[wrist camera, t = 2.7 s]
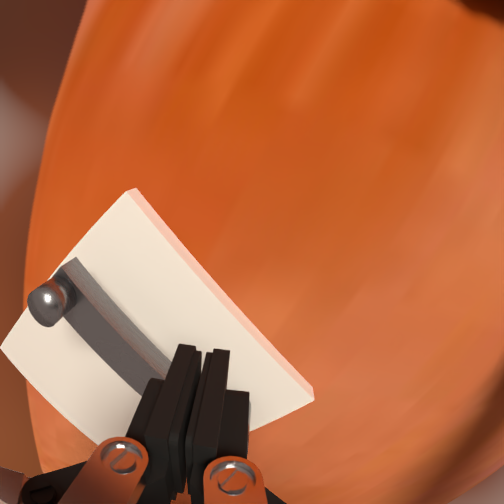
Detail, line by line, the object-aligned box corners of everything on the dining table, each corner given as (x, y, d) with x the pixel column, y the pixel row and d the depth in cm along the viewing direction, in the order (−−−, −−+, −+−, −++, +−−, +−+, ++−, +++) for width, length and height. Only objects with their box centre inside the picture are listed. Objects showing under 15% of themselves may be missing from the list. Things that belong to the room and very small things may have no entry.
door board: (312, 387, 23) (321, 446, 17) (138, 462, 28) (122, 502, 22) (136, 187, 19) (86, 204, 13) (8, 340, 24) (-27, 371, 18)
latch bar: (259, 408, 21) (256, 473, 16) (228, 423, 22) (219, 485, 16) (98, 241, 18) (41, 277, 12) (74, 268, 19) (19, 308, 13)
